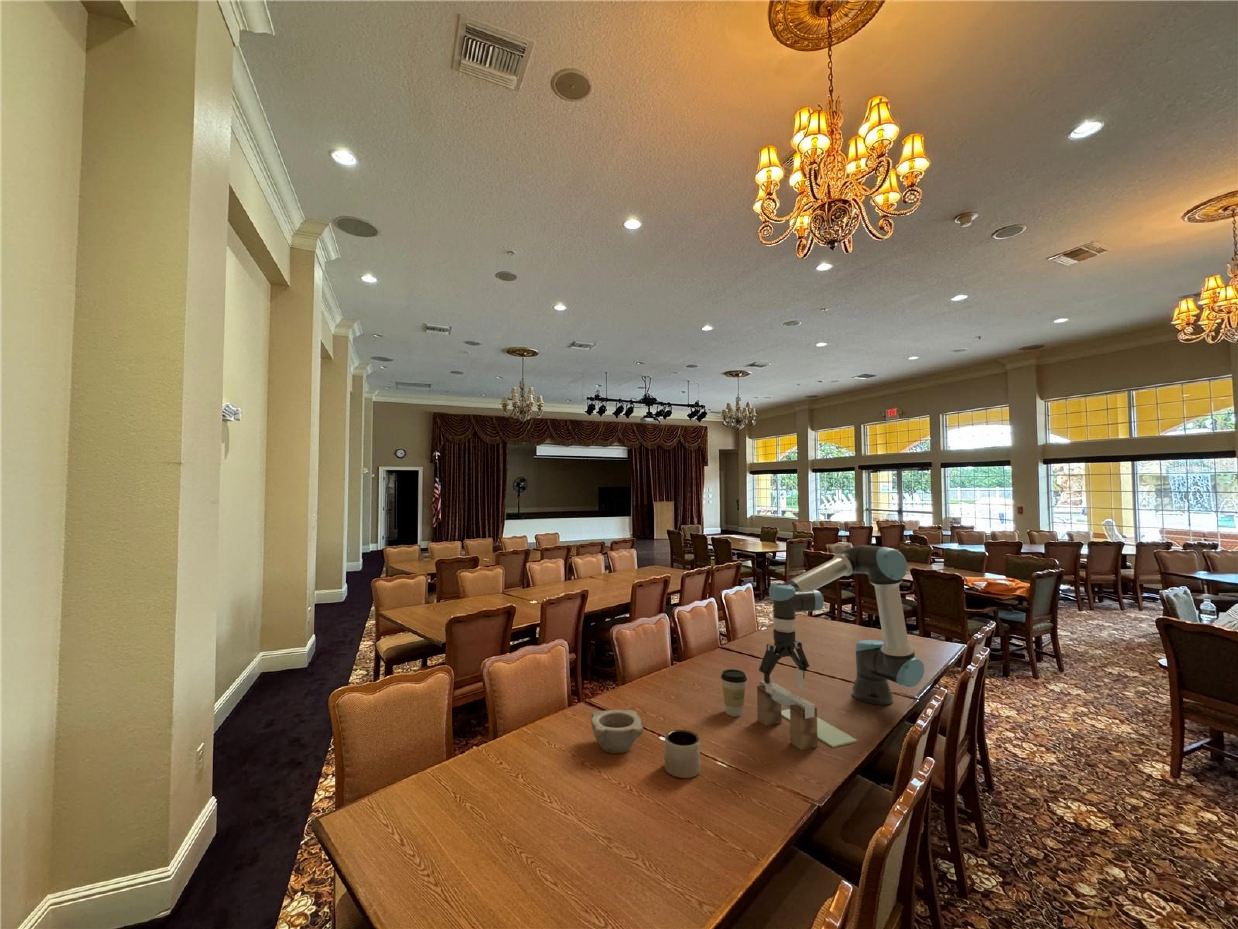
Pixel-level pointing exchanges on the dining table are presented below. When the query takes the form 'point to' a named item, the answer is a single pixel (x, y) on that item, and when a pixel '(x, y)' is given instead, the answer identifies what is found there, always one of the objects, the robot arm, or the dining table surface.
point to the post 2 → (803, 729)
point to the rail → (790, 699)
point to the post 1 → (767, 708)
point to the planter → (682, 753)
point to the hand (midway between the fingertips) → (784, 690)
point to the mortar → (616, 729)
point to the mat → (827, 732)
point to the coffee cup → (734, 691)
